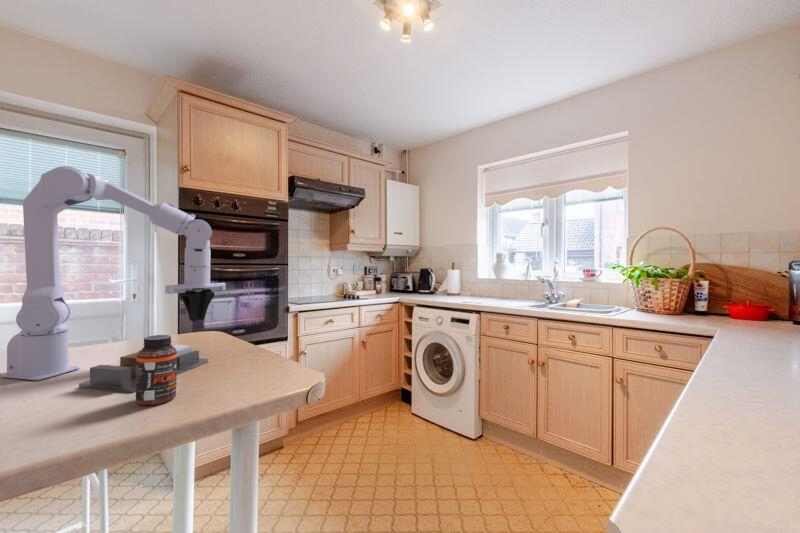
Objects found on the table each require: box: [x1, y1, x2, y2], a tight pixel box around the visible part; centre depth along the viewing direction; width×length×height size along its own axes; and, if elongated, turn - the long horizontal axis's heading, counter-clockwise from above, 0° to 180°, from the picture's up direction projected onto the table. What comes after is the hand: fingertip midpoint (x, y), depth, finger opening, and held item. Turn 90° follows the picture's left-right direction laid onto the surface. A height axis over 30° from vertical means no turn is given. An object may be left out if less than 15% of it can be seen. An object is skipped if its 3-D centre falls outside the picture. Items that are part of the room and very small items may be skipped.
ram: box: [171, 344, 193, 357], centre depth 82 cm, size 5×5×3 cm
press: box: [78, 350, 209, 393], centre depth 76 cm, size 12×20×4 cm, turn 171°
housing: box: [119, 351, 139, 378], centre depth 74 cm, size 4×6×4 cm
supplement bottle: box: [135, 334, 178, 406], centre depth 62 cm, size 6×6×11 cm
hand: (197, 320), depth 89 cm, fingers closed
